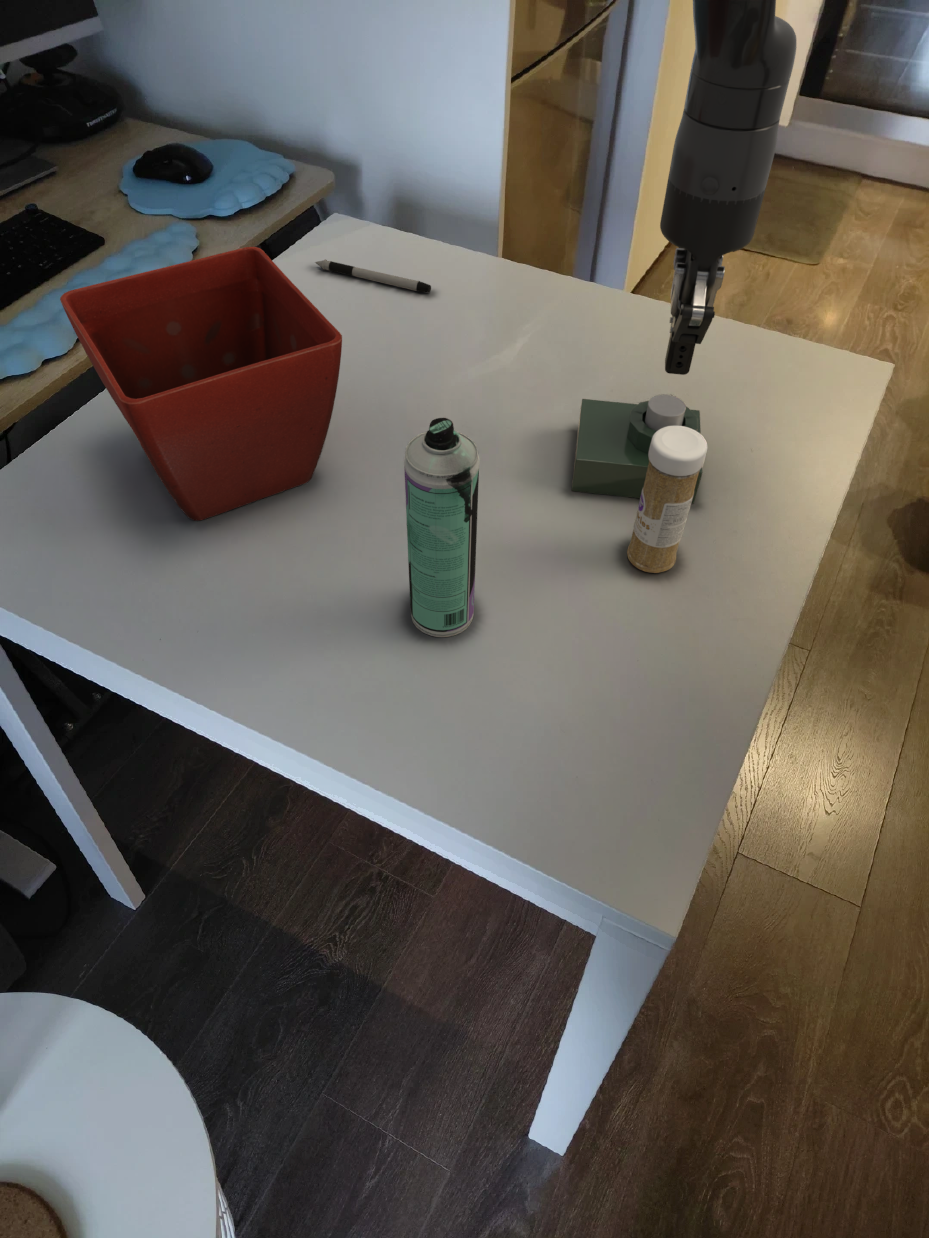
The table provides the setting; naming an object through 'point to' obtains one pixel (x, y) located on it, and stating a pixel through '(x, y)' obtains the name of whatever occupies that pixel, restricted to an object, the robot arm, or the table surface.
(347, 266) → the pen
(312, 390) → the flower pot
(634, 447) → the push button box
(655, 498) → the sprinkles bottle
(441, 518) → the spray can
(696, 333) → the robot arm
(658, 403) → the grey short cylinder
